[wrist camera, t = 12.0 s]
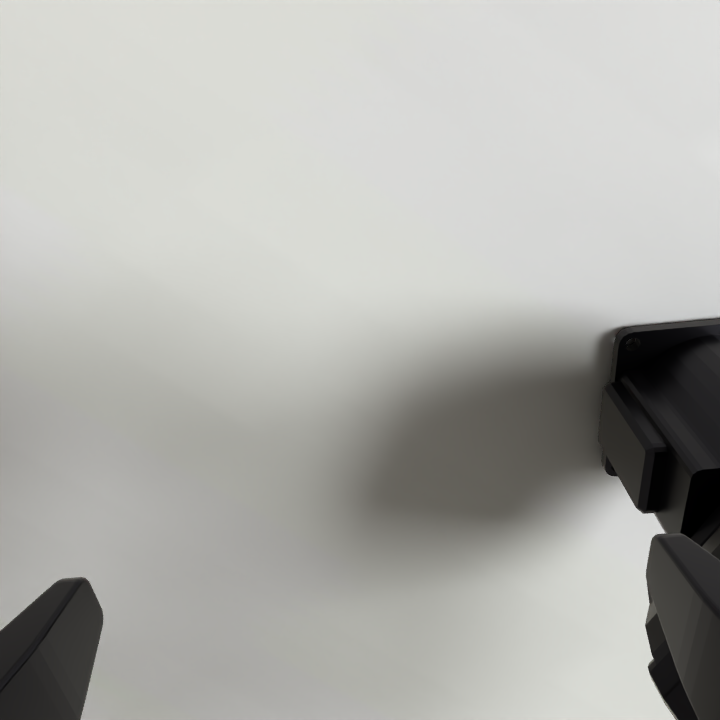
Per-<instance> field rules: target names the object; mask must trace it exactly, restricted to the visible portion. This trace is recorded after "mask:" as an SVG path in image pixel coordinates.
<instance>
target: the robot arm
mask: <svg viewBox="0 0 720 720" xmlns="http://www.w3.org/2000/svg"><path fill="white" fill-rule="evenodd" d="M633 338H636V340H635V342H634V343H633V344H632V345H629V346H625V345H626V343H627V341H629V340H630V339H633ZM598 441H599V443H600V445H601V447H602V448H603V453H602V466H603V467H604V469H605V471H606V472H607V474H609V475H611V476H618V477H619V478H620V480H621V482H622V484H623V486H624V487H625V489H626V491H627V493H628V494H629V496H630V498H631V500H632V501H633V503H634V505H635V507H636V508H637V509H638V510H639V511H641V512H642V513H643V514H645V513H654V514H655V516H656V518H657V519H658V521H659V523H660V524H661V526H662V528H663V529H664V531H665V533H666V534H657V535H655V536H654V537H653V538H652V541H651V546H650V551H649V557H648V563H647V569H646V579H647V587H648V595H649V603H650V605H649V610H648V615H647V619H646V624H645V627H646V631H647V635H648V640H649V644H650V649H651V653H652V656H653V658H654V659H653V660H652V661H651V662H650V663H649V665H648V669H649V673H650V676H651V679H652V681H653V682H654V684H655V686H656V688H657V690H658V692H659V694H660V695H661V697H662V699H663V701H664V703H665V705H666V706H667V707H668V709H669V710H670V712H671V713H672V715H673V716H674V718H675V719H676V720H720V319H713V320H702V321H691V322H680V323H669V324H658V325H647V326H637V327H629V328H625V329H623V330H621V331H620V332H619V333H618V334H617V335H616V338H615V341H614V350H613V359H612V369H611V378H610V382H608V383H607V384H606V386H605V387H604V388H603V395H602V405H601V415H600V424H599V434H598ZM102 626H103V612H102V608H101V606H100V604H99V602H98V600H97V598H96V595H95V593H94V591H93V589H92V587H91V584H90V582H89V581H88V580H87V579H86V578H83V577H78V578H65V579H61V580H59V581H57V582H56V583H54V584H53V585H52V586H51V587H50V588H49V589H47V590H46V591H45V592H44V593H43V594H42V595H41V596H39V597H38V598H37V599H36V600H35V601H34V602H33V603H32V604H30V605H29V606H28V607H27V608H26V609H25V610H24V611H22V612H21V613H20V614H19V615H18V616H17V617H16V618H15V619H13V620H12V621H11V622H10V623H9V624H8V625H7V626H5V627H4V628H3V629H2V630H1V631H0V720H80V719H81V715H82V711H83V707H84V703H85V699H86V695H87V691H88V686H89V682H90V678H91V673H92V669H93V665H94V661H95V656H96V652H97V648H98V644H99V639H100V635H101V631H102Z"/></svg>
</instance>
